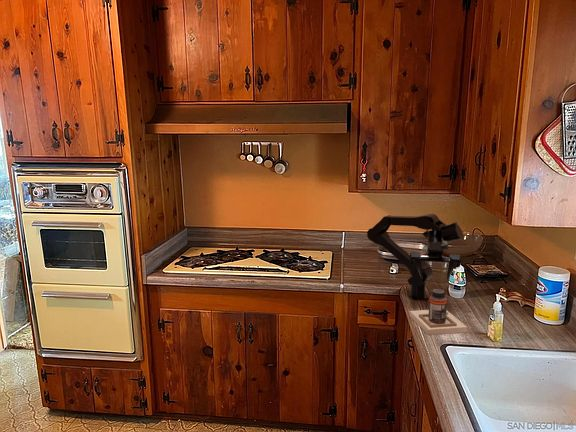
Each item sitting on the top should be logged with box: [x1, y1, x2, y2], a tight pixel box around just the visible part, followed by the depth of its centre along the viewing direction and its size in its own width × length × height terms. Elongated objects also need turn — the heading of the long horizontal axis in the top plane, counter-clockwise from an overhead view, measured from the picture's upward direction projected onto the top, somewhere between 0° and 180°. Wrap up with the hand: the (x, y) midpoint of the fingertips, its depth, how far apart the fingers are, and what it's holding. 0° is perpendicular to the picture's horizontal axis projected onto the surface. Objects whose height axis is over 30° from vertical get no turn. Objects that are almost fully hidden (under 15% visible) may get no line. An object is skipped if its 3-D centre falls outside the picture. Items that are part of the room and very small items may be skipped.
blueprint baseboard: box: [409, 309, 468, 336], centre depth 155 cm, size 16×14×3 cm
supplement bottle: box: [428, 288, 448, 324], centre depth 152 cm, size 6×6×11 cm
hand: (434, 279), depth 163 cm, fingers open, 9 cm apart
